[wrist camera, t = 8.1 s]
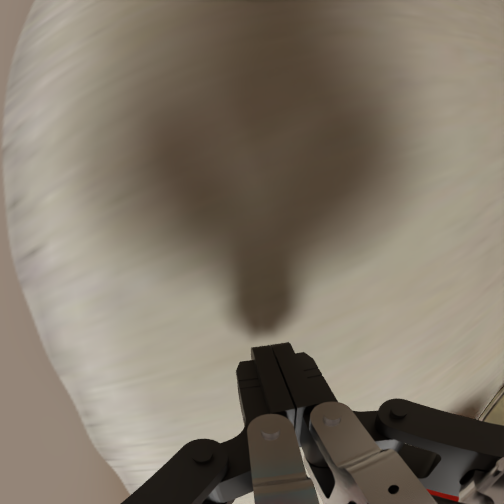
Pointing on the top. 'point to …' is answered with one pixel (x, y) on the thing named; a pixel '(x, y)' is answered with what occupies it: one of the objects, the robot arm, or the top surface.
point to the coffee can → (495, 410)
